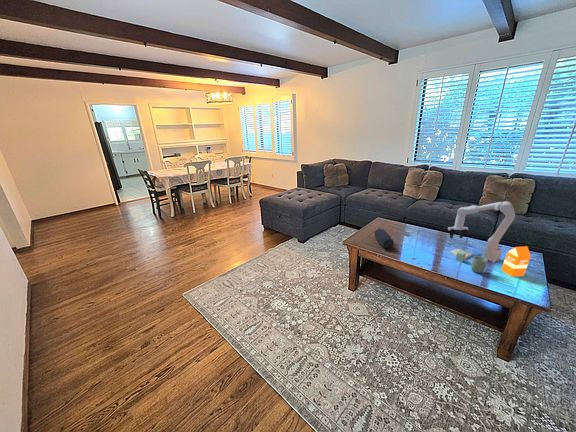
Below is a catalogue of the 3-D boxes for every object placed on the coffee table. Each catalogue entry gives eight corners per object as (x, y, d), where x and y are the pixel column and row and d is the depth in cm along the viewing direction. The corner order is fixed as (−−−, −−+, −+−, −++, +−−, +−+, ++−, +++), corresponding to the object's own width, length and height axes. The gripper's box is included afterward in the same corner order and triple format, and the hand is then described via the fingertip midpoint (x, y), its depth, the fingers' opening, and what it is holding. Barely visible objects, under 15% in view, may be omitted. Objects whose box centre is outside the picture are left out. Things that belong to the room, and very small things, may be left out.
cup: (470, 267, 169) (473, 254, 166) (484, 270, 164) (487, 258, 161) (469, 271, 164) (472, 259, 160) (483, 275, 159) (487, 262, 155)
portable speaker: (394, 249, 196) (396, 239, 193) (382, 250, 196) (383, 239, 193) (383, 237, 220) (384, 227, 216) (372, 237, 220) (373, 227, 216)
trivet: (470, 256, 184) (471, 253, 183) (463, 259, 179) (464, 256, 178) (457, 251, 192) (457, 248, 191) (450, 254, 188) (450, 251, 187)
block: (464, 260, 178) (465, 253, 176) (461, 262, 176) (463, 254, 174) (458, 258, 181) (460, 251, 179) (455, 259, 179) (457, 252, 177)
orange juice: (500, 270, 165) (509, 244, 158) (512, 269, 165) (521, 243, 158) (511, 276, 157) (521, 249, 151) (524, 275, 158) (533, 249, 151)
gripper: (465, 220, 191) (461, 235, 195) (447, 220, 191) (443, 236, 196) (471, 223, 184) (467, 239, 188) (452, 223, 184) (449, 239, 189)
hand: (455, 238), depth 192 cm, fingers open, 7 cm apart
